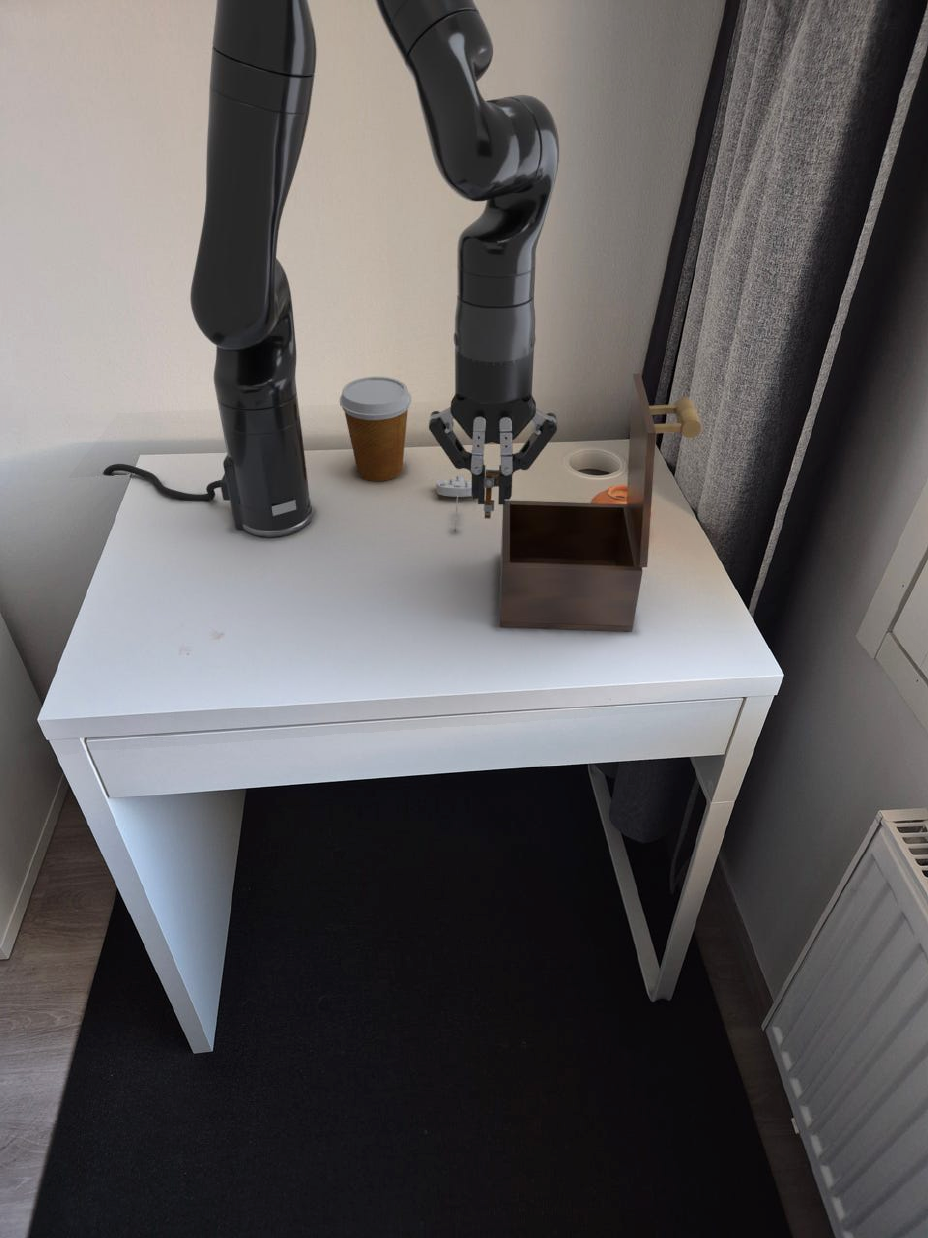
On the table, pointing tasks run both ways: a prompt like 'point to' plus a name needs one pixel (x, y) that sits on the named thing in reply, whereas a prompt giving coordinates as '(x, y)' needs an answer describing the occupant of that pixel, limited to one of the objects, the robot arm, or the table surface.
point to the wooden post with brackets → (490, 490)
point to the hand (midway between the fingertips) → (491, 499)
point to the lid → (650, 456)
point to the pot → (613, 496)
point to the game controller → (454, 489)
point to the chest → (568, 566)
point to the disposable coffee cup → (377, 425)
